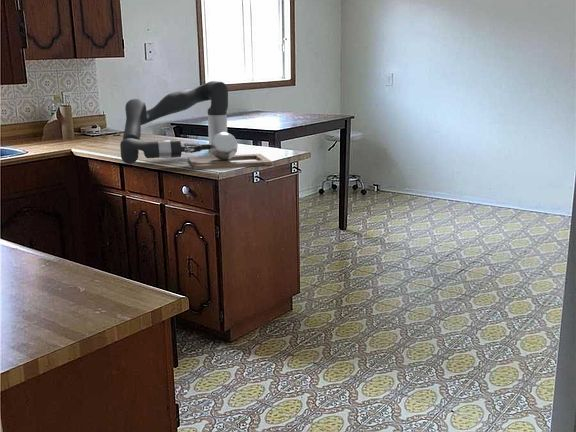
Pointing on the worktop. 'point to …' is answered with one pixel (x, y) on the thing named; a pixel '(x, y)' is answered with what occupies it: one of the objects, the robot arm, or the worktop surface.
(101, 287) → the worktop surface
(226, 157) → the ball
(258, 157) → the wooden tray
